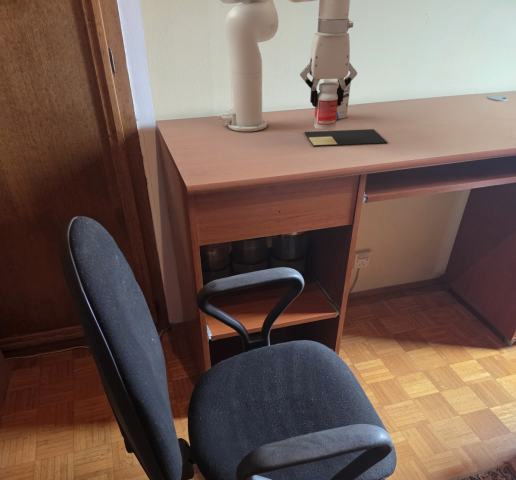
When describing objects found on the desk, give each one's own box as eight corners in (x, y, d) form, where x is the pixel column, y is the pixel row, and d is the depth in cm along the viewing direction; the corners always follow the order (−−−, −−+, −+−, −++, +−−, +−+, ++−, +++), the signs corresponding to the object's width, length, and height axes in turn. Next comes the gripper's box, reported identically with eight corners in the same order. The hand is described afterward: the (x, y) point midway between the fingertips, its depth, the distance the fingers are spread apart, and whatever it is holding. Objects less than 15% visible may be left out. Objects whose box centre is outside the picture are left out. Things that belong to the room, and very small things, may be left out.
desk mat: (313, 146, 130) (313, 144, 129) (304, 133, 139) (304, 131, 139) (387, 143, 131) (387, 141, 131) (373, 130, 141) (373, 128, 141)
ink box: (330, 121, 149) (334, 81, 141) (319, 118, 151) (322, 78, 144) (347, 117, 153) (352, 77, 145) (336, 114, 156) (340, 75, 148)
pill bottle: (339, 128, 129) (344, 84, 122) (323, 131, 126) (326, 87, 119) (325, 123, 133) (329, 80, 126) (309, 126, 130) (312, 83, 123)
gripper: (361, 24, 118) (352, 100, 129) (296, 26, 116) (293, 103, 128) (369, 28, 112) (359, 107, 124) (301, 30, 111) (298, 109, 122)
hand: (326, 104), depth 126 cm, fingers closed on pill bottle, 6 cm apart
